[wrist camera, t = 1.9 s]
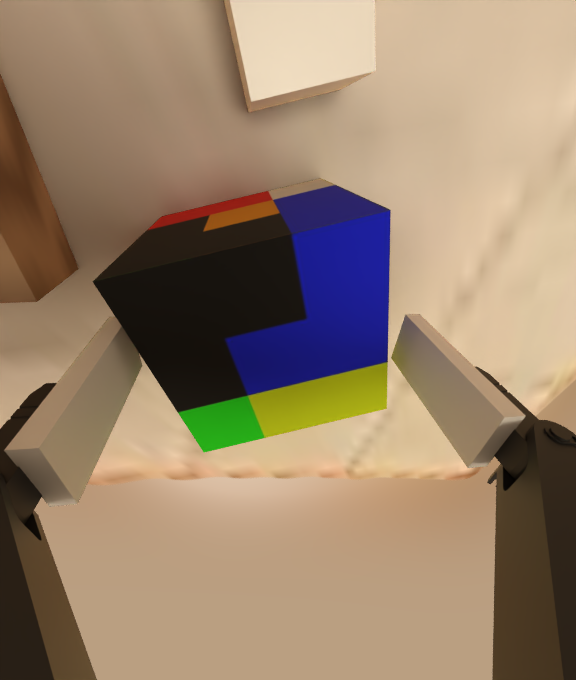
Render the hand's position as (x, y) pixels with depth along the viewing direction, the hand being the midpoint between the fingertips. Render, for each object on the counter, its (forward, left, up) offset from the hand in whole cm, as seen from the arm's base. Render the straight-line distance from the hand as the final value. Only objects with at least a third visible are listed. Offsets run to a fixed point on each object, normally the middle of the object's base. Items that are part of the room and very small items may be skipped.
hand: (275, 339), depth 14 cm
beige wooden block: (-12, +1, -8) cm, 15 cm away
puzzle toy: (0, 0, -8) cm, 8 cm away
